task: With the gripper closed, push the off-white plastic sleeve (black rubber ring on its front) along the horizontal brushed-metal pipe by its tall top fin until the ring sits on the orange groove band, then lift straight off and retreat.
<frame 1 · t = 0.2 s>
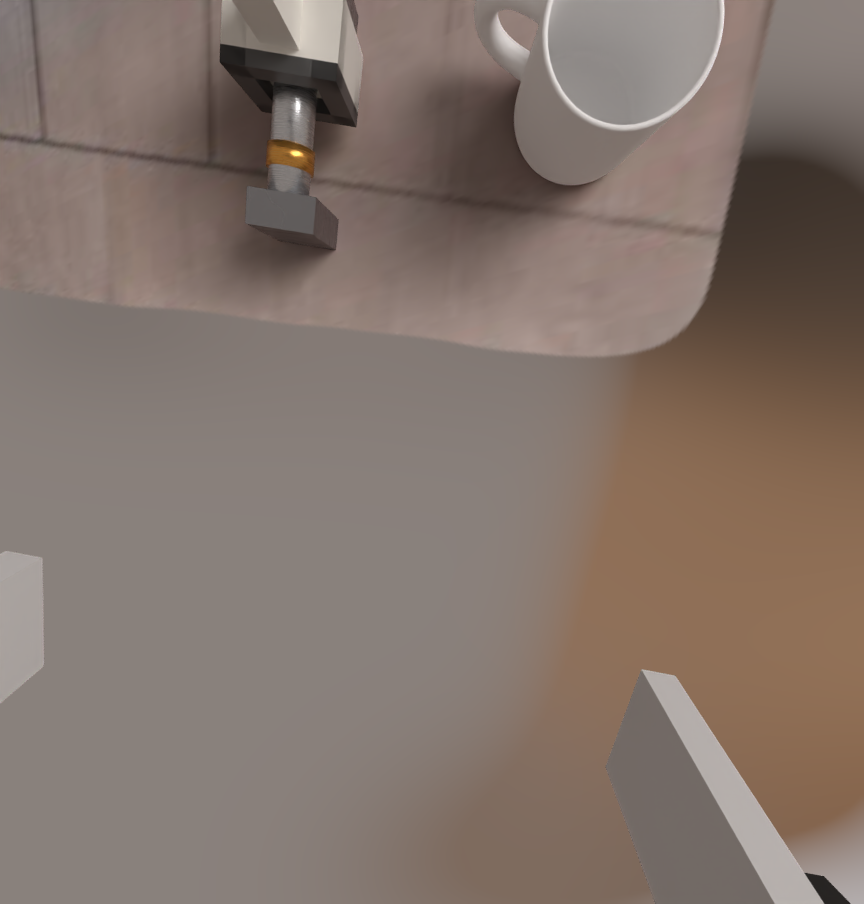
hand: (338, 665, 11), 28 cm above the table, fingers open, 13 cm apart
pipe: (316, 134, 33), on the table
mug: (549, 105, 32), on the table
sleeve: (277, 22, 24), point 9 cm above the table, slide at 0.0 cm
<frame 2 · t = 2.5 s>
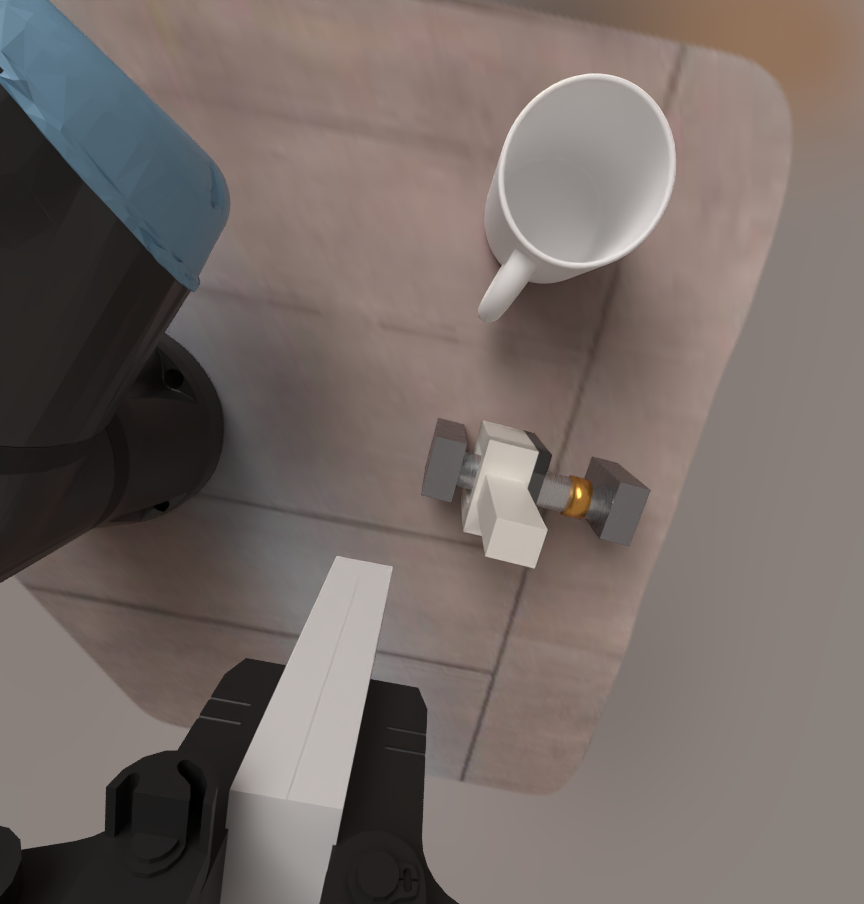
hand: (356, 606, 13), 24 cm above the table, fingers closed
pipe: (520, 465, 37), on the table
mug: (527, 245, 33), on the table
sleeve: (507, 497, 29), point 9 cm above the table, slide at 0.0 cm
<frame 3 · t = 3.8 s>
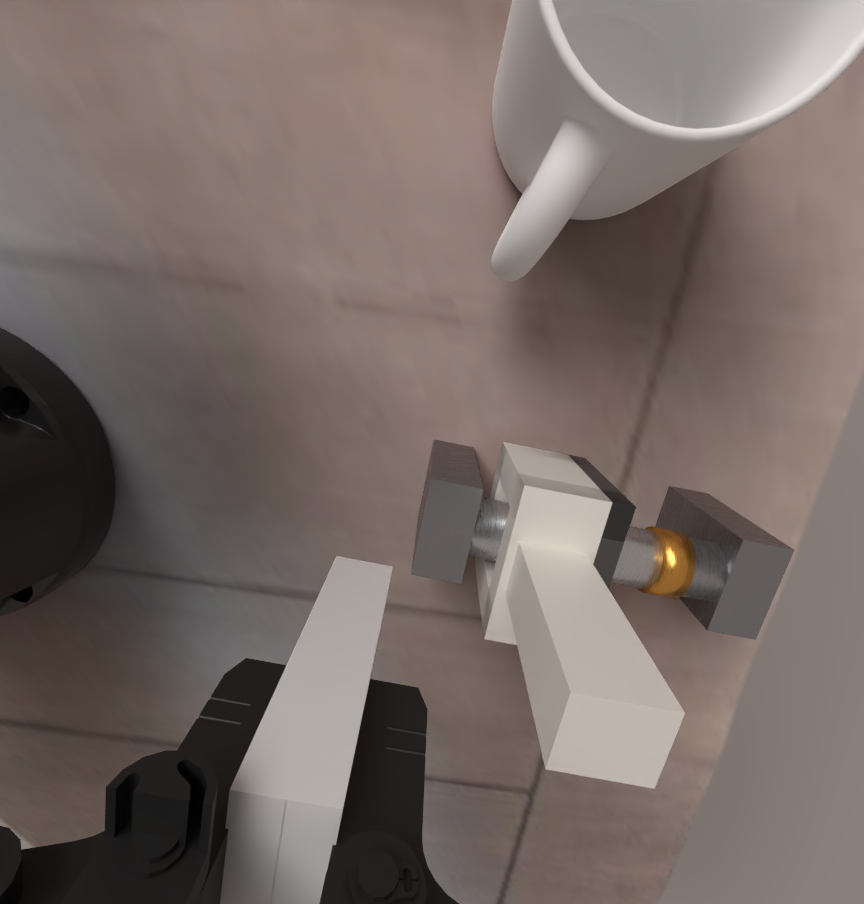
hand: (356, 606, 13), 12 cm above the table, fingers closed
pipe: (561, 503, 25), on the table
mug: (561, 161, 21), on the table
sleeve: (560, 583, 16), point 9 cm above the table, slide at 0.0 cm
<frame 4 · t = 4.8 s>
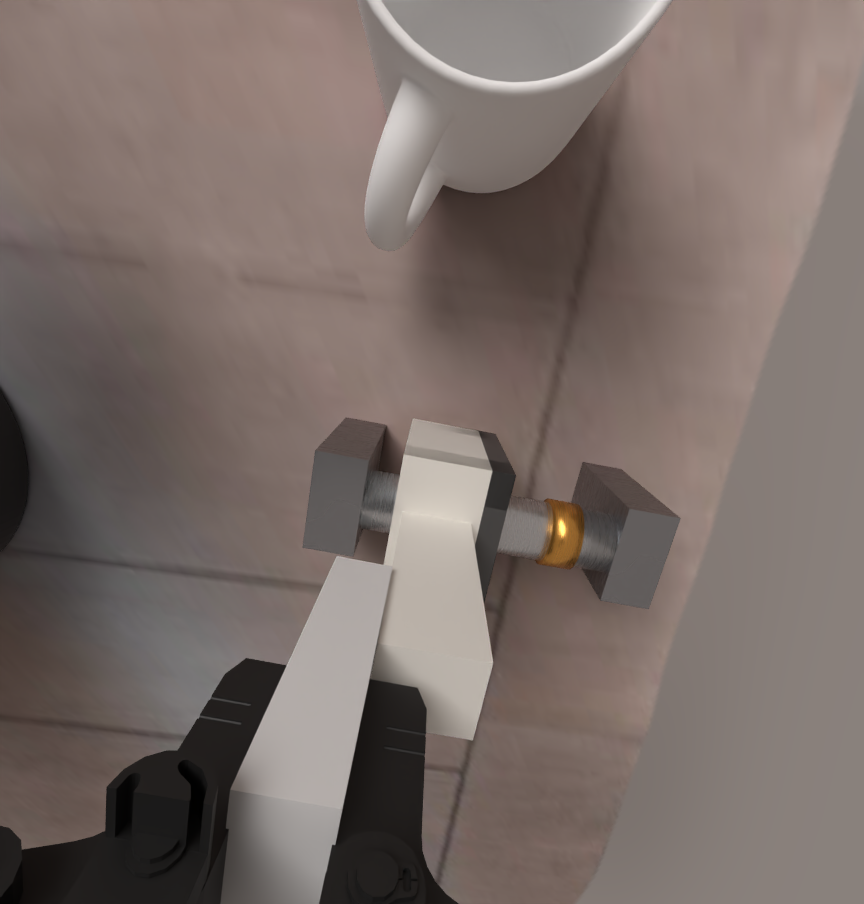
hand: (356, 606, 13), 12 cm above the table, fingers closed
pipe: (476, 481, 25), on the table
mug: (458, 134, 21), on the table
sleeve: (442, 552, 16), point 8 cm above the table, slide at 0.3 cm, touching gripper
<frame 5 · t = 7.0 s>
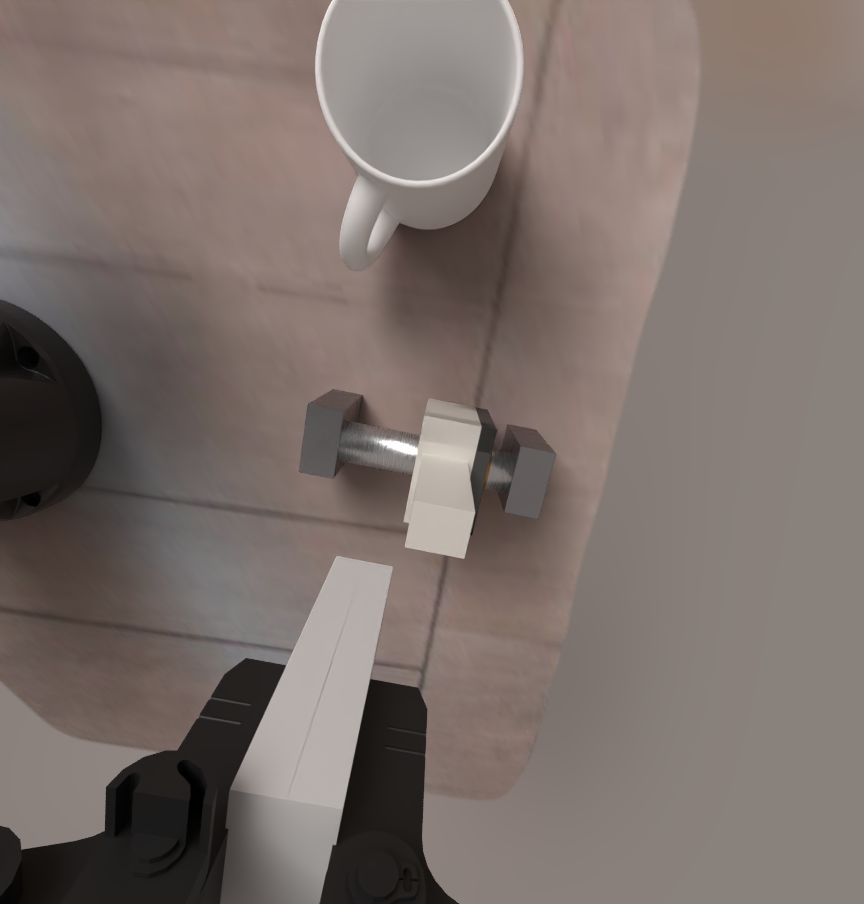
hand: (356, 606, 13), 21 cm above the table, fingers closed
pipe: (429, 437, 33), on the table
mug: (412, 188, 30), on the table
sleeve: (448, 480, 25), point 9 cm above the table, slide at 3.4 cm
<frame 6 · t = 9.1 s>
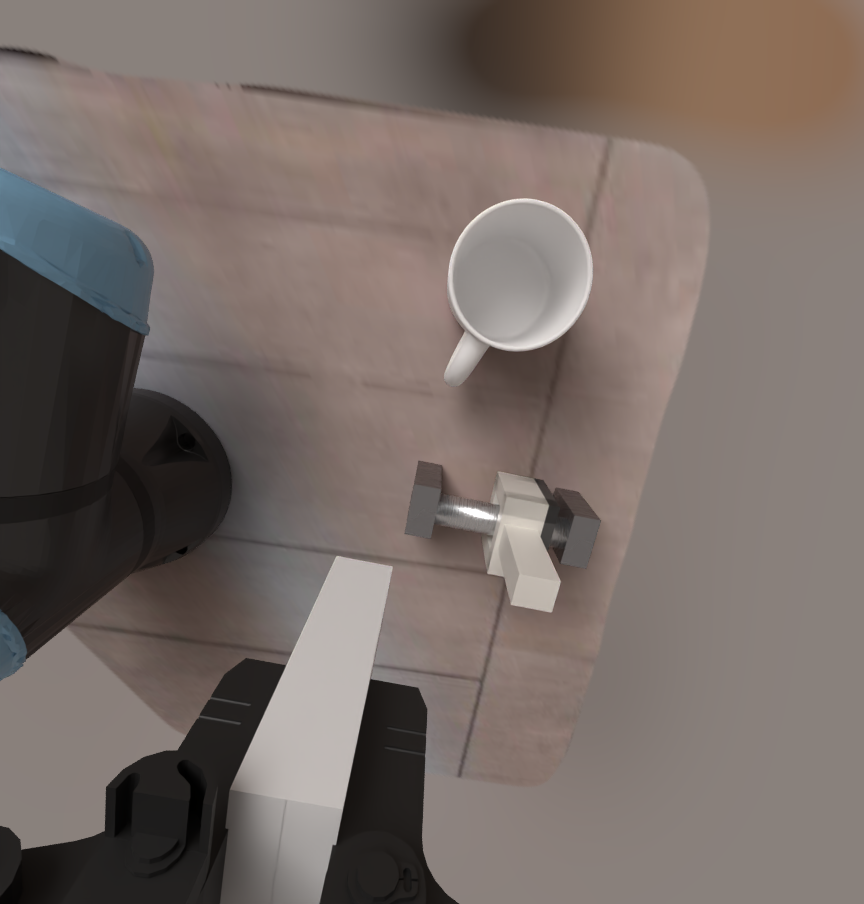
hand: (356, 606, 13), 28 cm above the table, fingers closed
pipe: (493, 498, 42), on the table
mug: (486, 310, 38), on the table
sleeve: (524, 544, 34), point 8 cm above the table, slide at 3.4 cm
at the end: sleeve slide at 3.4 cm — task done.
